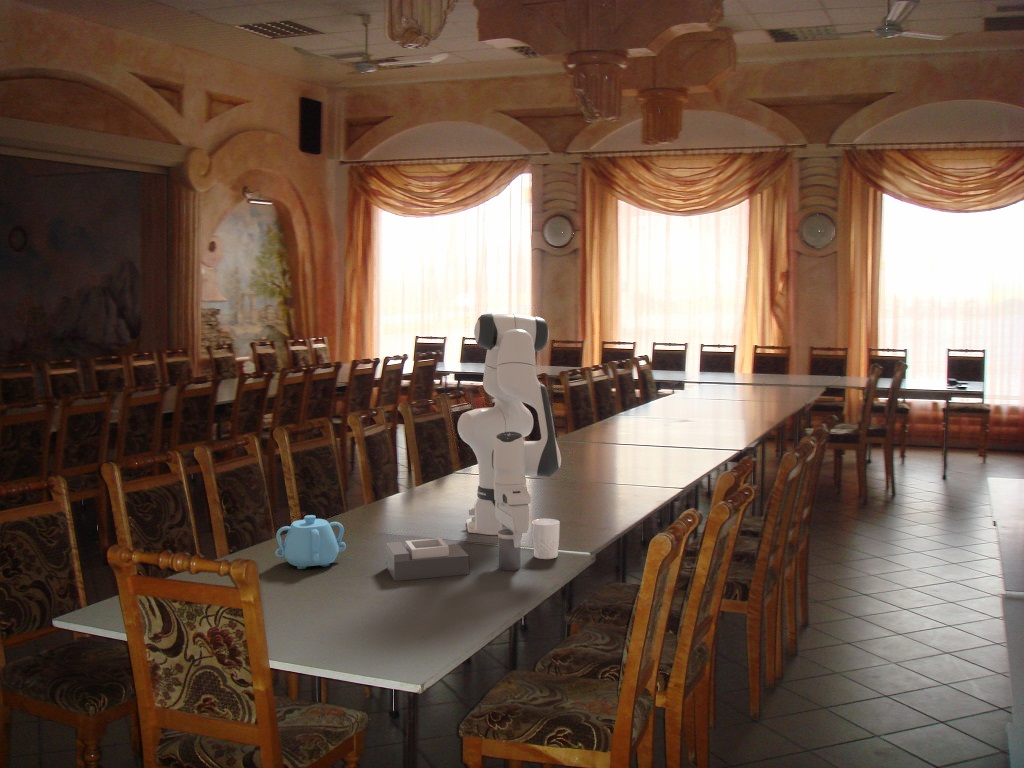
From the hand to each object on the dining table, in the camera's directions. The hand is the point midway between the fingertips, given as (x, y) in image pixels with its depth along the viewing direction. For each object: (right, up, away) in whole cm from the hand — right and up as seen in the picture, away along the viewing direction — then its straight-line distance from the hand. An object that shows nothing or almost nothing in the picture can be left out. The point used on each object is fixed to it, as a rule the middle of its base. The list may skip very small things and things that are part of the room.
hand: (511, 543), depth 276 cm
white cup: (+10, -6, +12) cm, 17 cm away
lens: (-1, -7, +1) cm, 7 cm away
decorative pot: (-56, -7, +8) cm, 57 cm away
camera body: (-23, -7, -1) cm, 24 cm away
